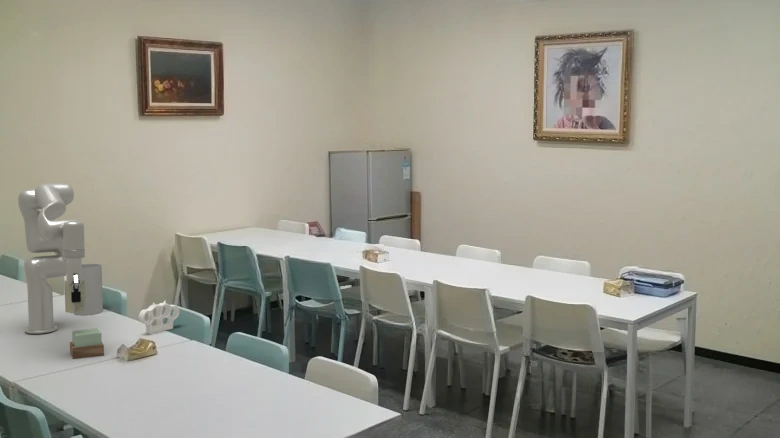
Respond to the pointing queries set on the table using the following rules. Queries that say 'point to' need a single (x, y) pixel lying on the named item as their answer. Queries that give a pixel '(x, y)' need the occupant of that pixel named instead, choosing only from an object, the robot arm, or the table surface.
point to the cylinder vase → (92, 289)
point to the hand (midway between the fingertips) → (75, 300)
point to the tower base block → (86, 351)
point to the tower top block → (86, 337)
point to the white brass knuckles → (159, 317)
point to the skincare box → (75, 306)
